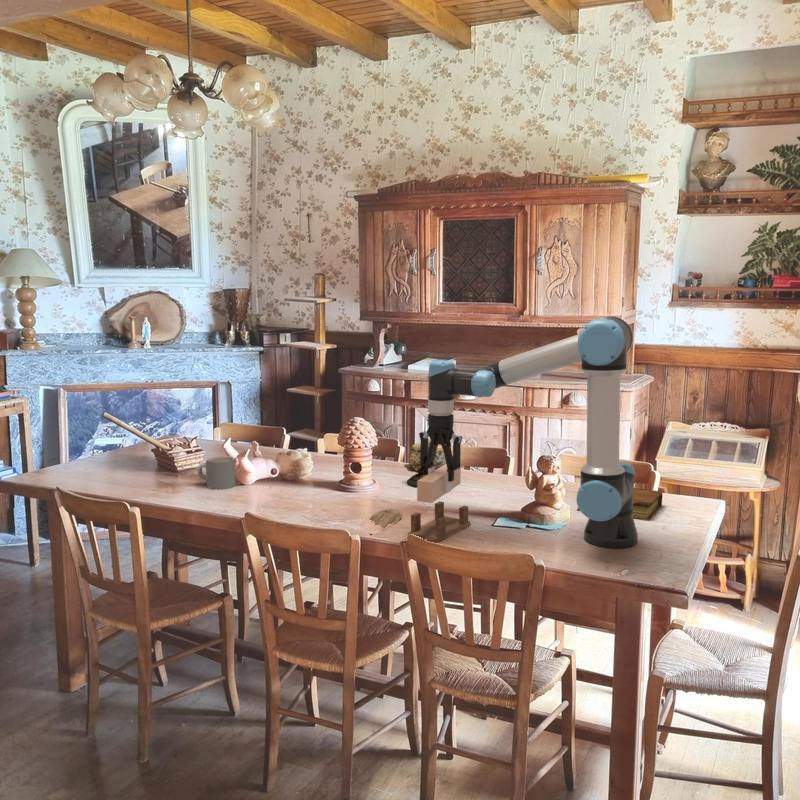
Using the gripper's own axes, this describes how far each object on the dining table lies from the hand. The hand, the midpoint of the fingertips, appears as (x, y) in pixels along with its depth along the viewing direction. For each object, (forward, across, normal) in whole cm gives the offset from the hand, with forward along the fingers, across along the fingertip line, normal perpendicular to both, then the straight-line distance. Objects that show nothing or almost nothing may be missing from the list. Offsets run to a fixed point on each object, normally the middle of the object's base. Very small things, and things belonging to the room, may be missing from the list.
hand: (439, 490), depth 249 cm
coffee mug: (+13, +94, -2) cm, 95 cm away
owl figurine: (+13, +30, -44) cm, 55 cm away
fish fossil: (+13, +20, +3) cm, 24 cm away
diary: (+13, -38, -52) cm, 66 cm away
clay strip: (+1, 0, 0) cm, 1 cm away
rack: (+12, 0, 0) cm, 12 cm away
